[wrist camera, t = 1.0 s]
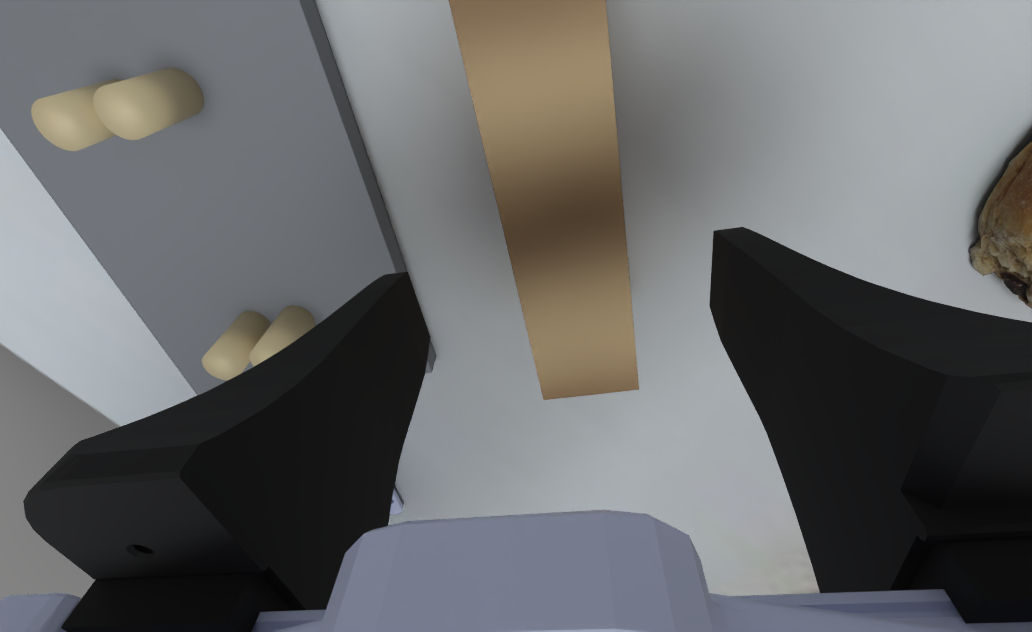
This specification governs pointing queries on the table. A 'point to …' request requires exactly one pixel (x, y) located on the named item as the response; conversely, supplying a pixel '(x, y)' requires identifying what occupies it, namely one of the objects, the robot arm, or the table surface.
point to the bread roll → (1008, 229)
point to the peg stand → (200, 165)
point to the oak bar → (556, 181)
